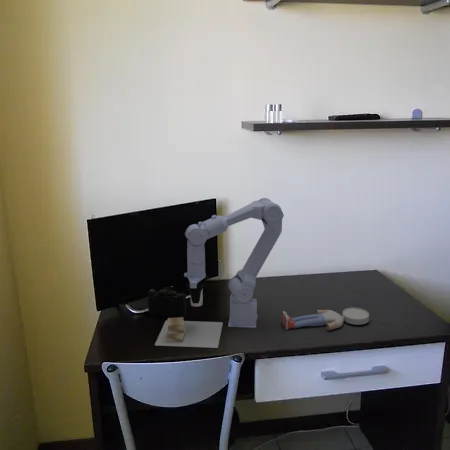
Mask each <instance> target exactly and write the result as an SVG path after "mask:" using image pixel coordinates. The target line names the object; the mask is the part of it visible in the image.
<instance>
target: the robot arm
mask: <svg viewBox="0 0 450 450" xmlns="http://www.w3.org/2000/svg"><path fill="white" fill-rule="evenodd" d="M284 215H285V214H284V212H283V211H282V208H281V206H280V205H279V204H277V203H275V202H273V201H272V200H271V199H269V198H267V197H261V198H260V199H258V200H253V201H252V202H251V203H249V204H247V205H245V206H243V207H241V208H239V209H237V210H235V211H233V212H231V213H229V214H227V215H225V216H222V215H219V214H217V215H216V214H213V215H211V218H209V219H206V220H204V221H199V222H197V223H194V224H191V225H189V226H188V227H187V228H186V230H185V232H184V235H185V238H186V239H187V240H186V241H187V242H186V243H187V244H186V245H187V247H186V252H187V254H186V257H187V262H186V263H187V272H184V274H183V276H184V278H187V279H188V282H186V284H185V285H186V286H185V287H186V288H187V290H188V292H189V295H191V298H190V300H191V299H192V303H199V301H200V295H201V290H202V291H203V289H204V285H205V281H206V279H207V274H206V249H205V243H206V242H207V240H209V239H211V238H213V237H215V236H218V235H220V234H223V233H225V232H226V231H227V230H228V228H229V227H230V226H233V225H236V224H238V223H240V222H244V221H245V220H248V219H249V220H250V219H255V220H260V221H261V222H262V224H263V228H264V229H263V231H262V233H261V235H260V237H259V239H258V241H257V242H256V244H255V246H254V248H253V249H252V251H251V253H250V255H249V256H248V258H247V260H246V262H245V264H244V266H242V269H239V270H238V271H237V272H236V274H235V275H234V276H233V277H231V278H230V279H229V281H228V284H227V286H228V290H229V291H230V292H231V293H230V296H229V317H228V319H229V320H228V327H230V328H249V329H250V328H251V329H255V328H257V322H258V321H257V320H258V319H259V318H258V313H257V312H258V308H257V307H258V300H257V298H253V296H254V290H255V287H256V284H257V281H256V280H257V276H258V275H259V273H260V271H261V269H262V267H264V266H263V265H264V264H265V262H266V260H267V259H268V257H269V255H270V254H271V252H272V250H273V249H274V246H275V245H276V243H277V241H278V239H279V237H280V236H281V233H282V231H283V218H284V217H285V216H284Z"/></svg>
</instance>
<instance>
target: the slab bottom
mask: <svg viewBox="0 0 450 450" xmlns="http://www.w3.org/2000/svg"><path fill="white" fill-rule="evenodd" d="M184 337H185V326H184V333H176V334H168V331H167V342H183V340H184Z"/></svg>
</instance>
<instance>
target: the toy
mask: <svg viewBox="0 0 450 450" xmlns="http://www.w3.org/2000/svg"><path fill="white" fill-rule="evenodd" d="M315 313H316V314H315ZM315 313H314V314H307V315H302V316H297V317H293V316H289V314H288V313H287V312H286V311H284V310H282V311H281V324H282V326H284V329H285V331H288V330H290V329H293V330H294V329H297V328H302V327H319V326H320V327H322V326H325V327H326V330H327V331H330V330H331V331H332V330H334V329H338V328H341V327H342V326H343V325H344V322H345V323H347V324H351V325H356V326H358V325H359V326H360V325H365V324H367V323H369V321H370V313H369V312H368V310H366V309H364V308H360V307H347V308H344V309H343V310H342V315H341V314H340V313H338V312H336V311H334V310H333V309H332V310H331V309H316V312H315Z"/></svg>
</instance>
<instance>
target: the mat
mask: <svg viewBox="0 0 450 450" xmlns="http://www.w3.org/2000/svg"><path fill="white" fill-rule="evenodd" d="M183 321H184V326H185V337H184V340H183V342H167V331H168V319H167V320H165V322H164V323H163V325H162V328H161V331H160V332H159V335H158V336H157V339H156V341H155V343H154V346H158V347H159V346H161V347H163V346H165V347H181V348H182V347H183V348H185V347H186V348H187V347H188V348H189V347H190V348H191V347H192V348H207V349H208V348H211V349H212V348H213V349H218V348H219V345H220V339H221V333H222V329H223V324H224V323H223V322H222V321H221V322H220V321H197V320H196V321H195V320H194V321H193V320H191V321H190V320H183Z"/></svg>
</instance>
